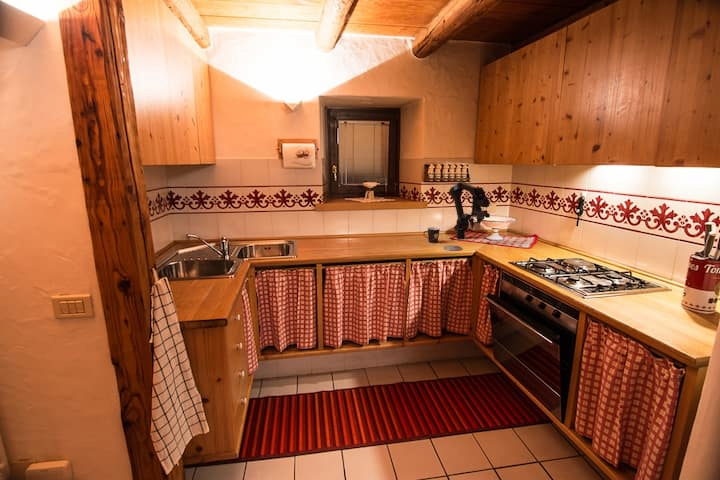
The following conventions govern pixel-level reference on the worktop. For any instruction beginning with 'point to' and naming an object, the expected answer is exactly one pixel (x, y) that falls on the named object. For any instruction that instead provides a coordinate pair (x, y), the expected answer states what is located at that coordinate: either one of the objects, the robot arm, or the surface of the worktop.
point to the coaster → (452, 248)
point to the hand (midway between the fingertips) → (475, 227)
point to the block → (475, 226)
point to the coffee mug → (433, 234)
